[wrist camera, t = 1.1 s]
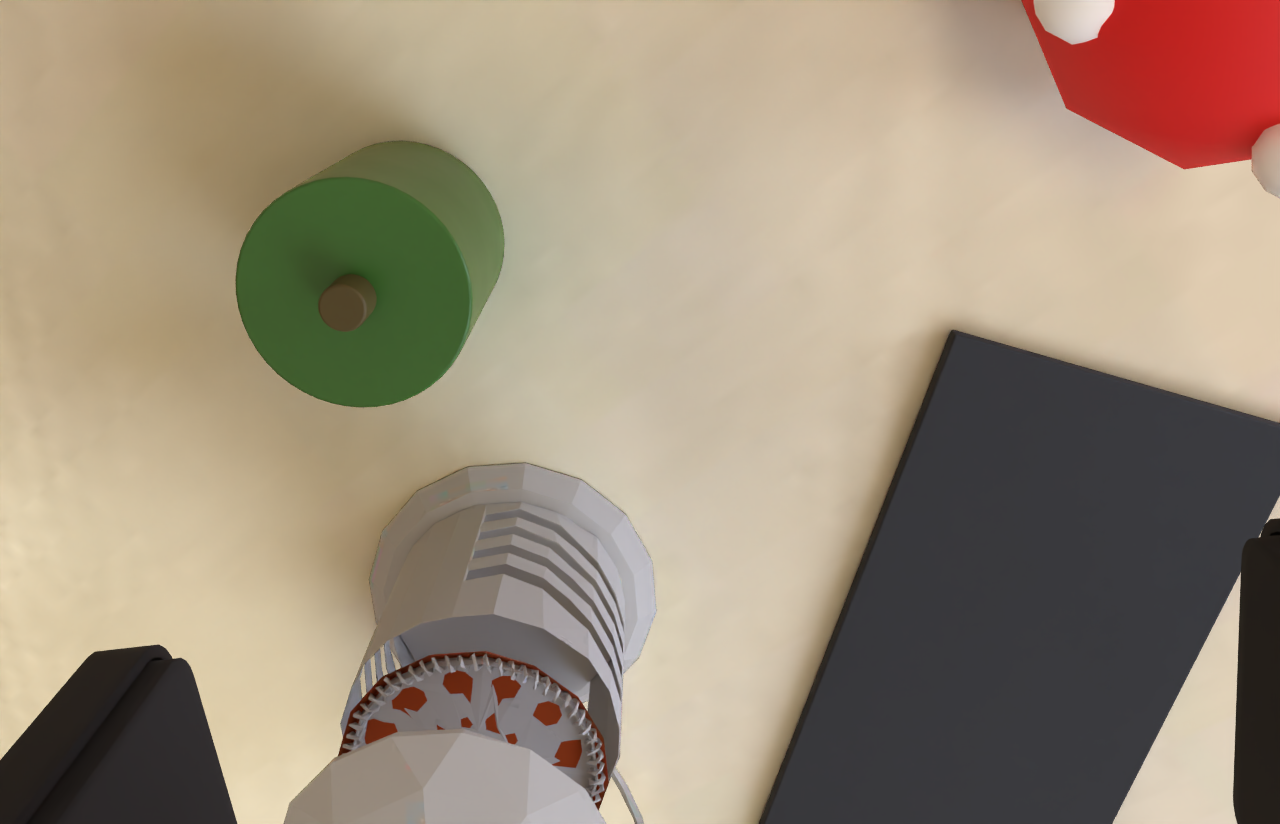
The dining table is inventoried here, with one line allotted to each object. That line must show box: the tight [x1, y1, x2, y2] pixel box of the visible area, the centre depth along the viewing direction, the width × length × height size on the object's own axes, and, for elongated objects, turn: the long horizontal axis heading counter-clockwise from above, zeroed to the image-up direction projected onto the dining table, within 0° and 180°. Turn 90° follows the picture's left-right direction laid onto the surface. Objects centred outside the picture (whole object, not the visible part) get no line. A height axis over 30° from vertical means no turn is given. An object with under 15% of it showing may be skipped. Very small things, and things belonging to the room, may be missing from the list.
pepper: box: [236, 141, 504, 407], centre depth 33 cm, size 6×6×8 cm
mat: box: [759, 330, 1280, 824], centre depth 41 cm, size 12×20×1 cm, turn 164°
